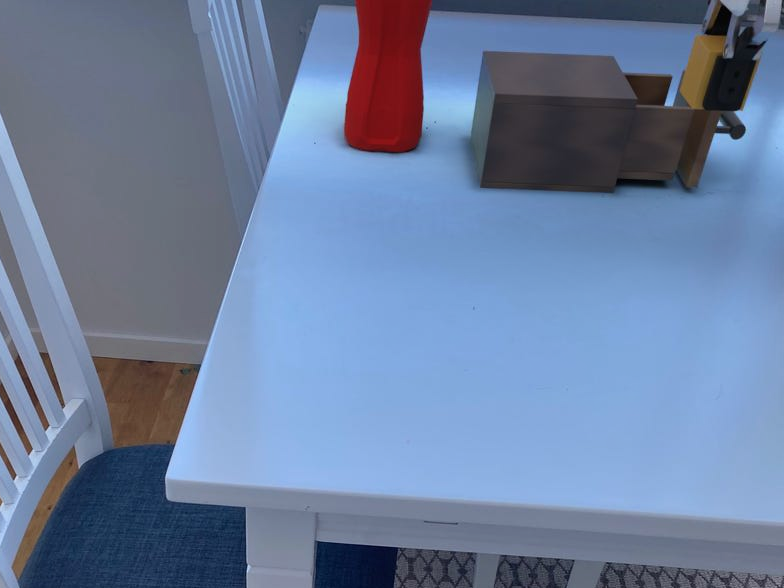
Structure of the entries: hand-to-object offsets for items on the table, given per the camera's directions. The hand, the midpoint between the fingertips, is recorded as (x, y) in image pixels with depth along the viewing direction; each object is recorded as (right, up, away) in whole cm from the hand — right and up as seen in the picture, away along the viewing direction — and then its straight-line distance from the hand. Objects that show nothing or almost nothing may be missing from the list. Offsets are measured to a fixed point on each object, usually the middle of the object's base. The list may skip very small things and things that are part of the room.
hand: (712, 96), depth 82 cm
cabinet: (-9, +7, +27) cm, 29 cm away
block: (0, 0, 0) cm, 0 cm away
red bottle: (-26, +13, +32) cm, 43 cm away
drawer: (+3, +7, +26) cm, 27 cm away
